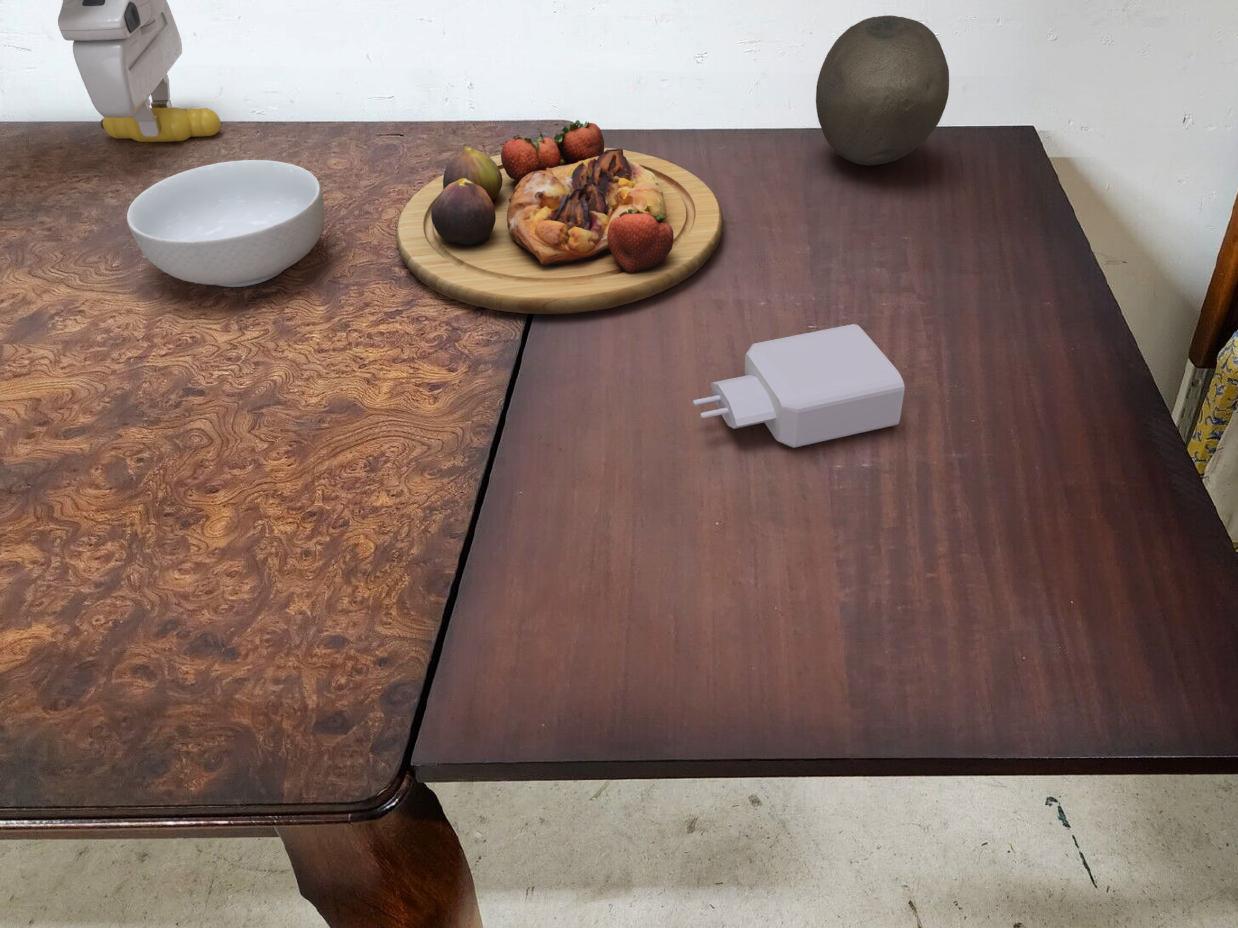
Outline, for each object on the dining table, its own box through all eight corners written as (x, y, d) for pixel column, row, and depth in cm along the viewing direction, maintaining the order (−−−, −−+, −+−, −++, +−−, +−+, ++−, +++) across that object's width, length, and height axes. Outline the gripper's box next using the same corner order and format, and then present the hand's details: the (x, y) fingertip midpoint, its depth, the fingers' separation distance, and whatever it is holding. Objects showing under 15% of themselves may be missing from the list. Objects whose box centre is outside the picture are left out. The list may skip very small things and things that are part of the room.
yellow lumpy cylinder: (96, 148, 123) (85, 116, 121) (109, 134, 126) (99, 103, 124) (217, 144, 123) (208, 112, 121) (226, 131, 127) (218, 99, 124)
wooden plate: (781, 273, 102) (787, 190, 96) (453, 356, 92) (438, 268, 86) (643, 144, 123) (641, 70, 118) (364, 200, 113) (347, 122, 108)
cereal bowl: (317, 211, 111) (301, 144, 107) (354, 287, 100) (337, 216, 95) (142, 246, 106) (117, 177, 101) (161, 330, 95) (133, 257, 90)
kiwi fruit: (785, 171, 118) (795, 27, 108) (845, 127, 127) (859, -11, 116) (905, 204, 112) (927, 55, 102) (958, 155, 121) (983, 13, 111)
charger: (677, 401, 87) (847, 367, 91) (717, 471, 81) (898, 430, 84) (677, 352, 84) (853, 317, 87) (718, 420, 77) (907, 380, 81)
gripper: (116, -33, 121) (157, 91, 131) (50, 29, 106) (102, 164, 116) (173, -35, 122) (210, 89, 131) (116, 27, 107) (162, 162, 116)
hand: (159, 125), depth 123 cm, fingers closed on yellow lumpy cylinder, 3 cm apart
